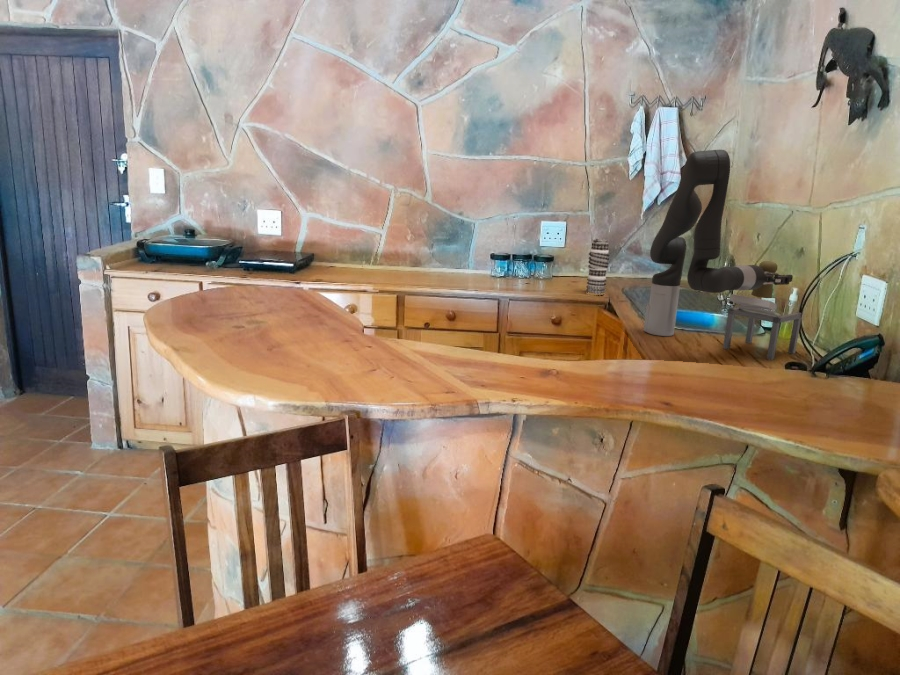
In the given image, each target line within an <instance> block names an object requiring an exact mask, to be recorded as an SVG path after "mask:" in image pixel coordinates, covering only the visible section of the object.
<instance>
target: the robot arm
mask: <svg viewBox="0 0 900 675" xmlns="http://www.w3.org/2000/svg"><path fill="white" fill-rule="evenodd" d="M730 175H731V158H730V155H729V152H728V151H726V149H713V150H712V149H711V150H710V149H709V150H698V151H693V152H692V153H690V154H689V155H688V156H687V159H686V160H685V163H684V167H683V170H682V173H681V177H680V181H679V184H678V185H677V189H676V191H675V194H674V197H673V199H672V201H671V203H670V205H669V207H668V210H667V212H666V215H665V218H664V220H663V223H662V225H661V227H660V229H659V231H658V232H657V233H656V235H655V237H654V238H653V241H652V243H651V246H650V249H649V250H650V252H649V256H650V259H651V261H652V262H653V263H655V264H659V265H660V264H661V265H670V267H668V269H666V270H664V271H661V272H657V273H654V274H653V275H652V278H651V287H650V294H649V303H647V304H646V308H645V315H644V316H645V317H644V323H643V324H644V325H643V332H646V333H647V334H650V335H653V336H660V337H671V336H674V334H675V328H676V321H677V311H678V304H679V297H680V296H679V295H680V291H681V290H680V288H681V282H682V280H681V279H682V276H683V271H684V270H683V269H684V264H685V259H686V252H687V241H686V239H685V238H684V237H681V236H683V235H684V234H686V233H688V232H689V231H691V230H692V229H693V228H694V227H695V229H694V233H693V234H694V235H693V236H694V239H693V255H692V258H691V260H690V263H689V264H690V265H689V268H688V271H687V278H686V279H687V284H688V286H689V287H690V288H691V290H694V291H697V292H702V293H703V292H704V293H705V292H706V293H711V294H712V293H713V294H719V293H724V292H725V291H753V290H755V289H758V288H759V287H761V286H762V284H773V286H781V285H784V286H785V285H789V284H790V283H791V282H793V278H794V277H793V275H792V274H779V273H778V272H775V273H773V272H767V271H763V270H762V268H761V267H759V265H757V264H743V265H742V264H741V265H734V266H723V267H719V268H716V267H715V268H714V267H708V263H709V261H711V260H715V259H718V258H719V257H720V255H721V240H722V239H721V238H722V237H721V236H722V233H721V232H722V223H723V215H724V209H725V204H726V197H727V193H728V187H729V181H730ZM705 185H706V186H708V185H713V186H712V187H713V188H712V193H711V197H710V199H709V202H708V203H707V205H706V207H705V210H704V211H703V206H702V202H701V199H700V197H699V195H698V194H697V192H696V191H695V189H696V188H697V187H699V186H705ZM702 211H703V212H702ZM701 213H702V214H701ZM772 275H774V278H772ZM771 281H772V282H771Z"/></svg>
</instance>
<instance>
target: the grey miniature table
mask: <svg viewBox="0 0 900 675" xmlns="http://www.w3.org/2000/svg"><path fill="white" fill-rule="evenodd" d="M750 307H751V306H750ZM755 308H756V307H755ZM781 315H782V316H778V317H774V316H768V315H763V314H758V313H753V312H748V311H743V310H741V309H739V308H738V306H737V307H736V306H735V307H732V308H731V307H730V308H728V314H727V317H726V318H727V319H726V325H725V331H724V338H723V345H722V349H723V348H724V350H727V349H728V350H730V349H731V344H732V336H733V332H734V331H733V329H734V324H735V323H734V322H735V317H736V316H738V317H745V318H748V323H747V328H746V334H745V335H746V336H745V340H744V341H745V342H744V343H745V344H747V343H749V345H751V344H752V343H753V337H754V331H755V326H756V325H755V324H756V320H759V321H765V322H769V323H771V331H770V336H769V342H768V348H767V355H766V360H768V361H773V360H775V354H776V349H777V343H778V338H779V337H778V336H779V330H780V325H781V323H787V322H786V321H790V320H792V321H793V323H792V328H791V333H790V339H789V346H788V351H787V353H788V354H791V355H794V354H796V351H797V350H796V349H797V344H798V339H799V334H800V327H801V322H802V318H803V312H793V313H788V314H781ZM750 343H751V344H750Z"/></svg>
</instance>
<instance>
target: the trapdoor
mask: <svg viewBox="0 0 900 675" xmlns="http://www.w3.org/2000/svg"><path fill="white" fill-rule="evenodd" d="M729 301H730V302H733V303H734V304H735V305H737V307H738V308H739V309H741V310H743V311H748V312H753V313H758V314H763V315H768V316H774V317H778V316H782V315H783V314H780V313H779V312H776V310H777V306H778V304H777V303H776V302H773V301H772V300H769V299H764V298H758V297H749V296H745V295H739V294H733V293H731V295H730V298H729ZM750 306H751V307H750ZM755 307H756V308H755ZM792 321H793V320H790V321H786V322H785V323H792Z"/></svg>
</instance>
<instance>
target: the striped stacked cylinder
mask: <svg viewBox="0 0 900 675" xmlns="http://www.w3.org/2000/svg"><path fill="white" fill-rule="evenodd" d="M590 242H591V246H590V251H589V253H588V259H589V260H588V275H587V282H586V284H587V285H586V286H585V287H586V289H585V291H586V293H587V292H589V293H594V294H601V293H604V294H605V293H606V289H607V288H606V285H607V283H606V282H607V271H608V267H609V266H608V265H609V262H608V261H610V258H609V257H610V254H609V251H610V250H609V247H610V246H609V245H610V242H609V241H608V239H605V238H595V239H593V240H592V241H590Z"/></svg>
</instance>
